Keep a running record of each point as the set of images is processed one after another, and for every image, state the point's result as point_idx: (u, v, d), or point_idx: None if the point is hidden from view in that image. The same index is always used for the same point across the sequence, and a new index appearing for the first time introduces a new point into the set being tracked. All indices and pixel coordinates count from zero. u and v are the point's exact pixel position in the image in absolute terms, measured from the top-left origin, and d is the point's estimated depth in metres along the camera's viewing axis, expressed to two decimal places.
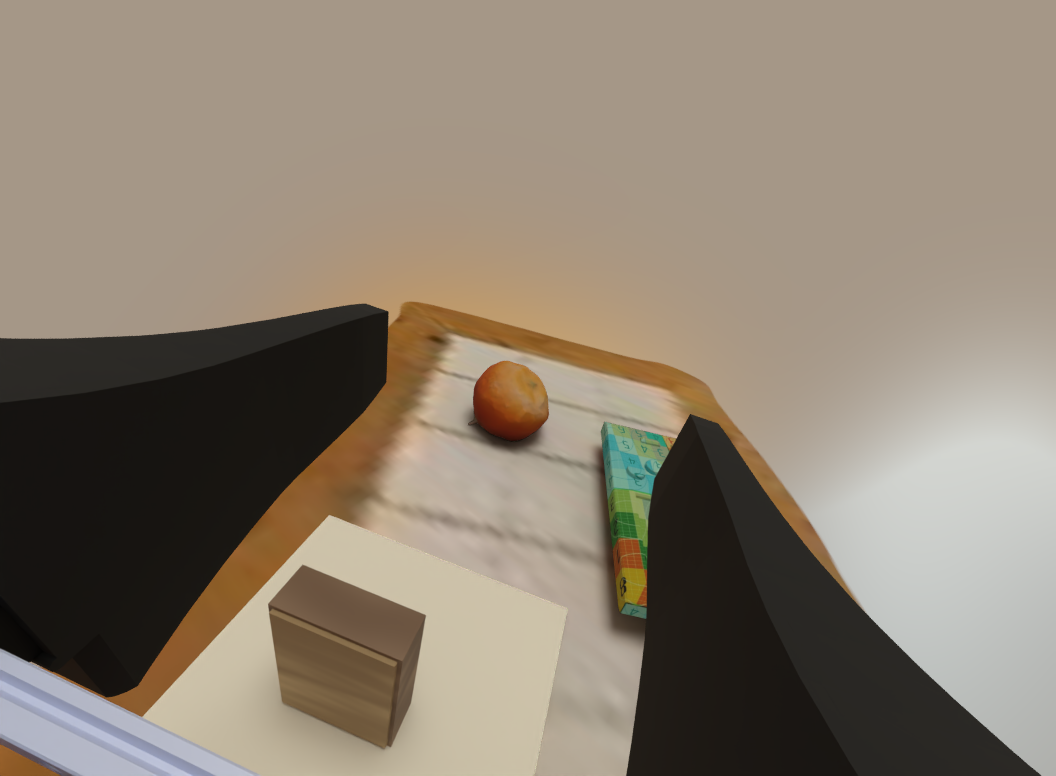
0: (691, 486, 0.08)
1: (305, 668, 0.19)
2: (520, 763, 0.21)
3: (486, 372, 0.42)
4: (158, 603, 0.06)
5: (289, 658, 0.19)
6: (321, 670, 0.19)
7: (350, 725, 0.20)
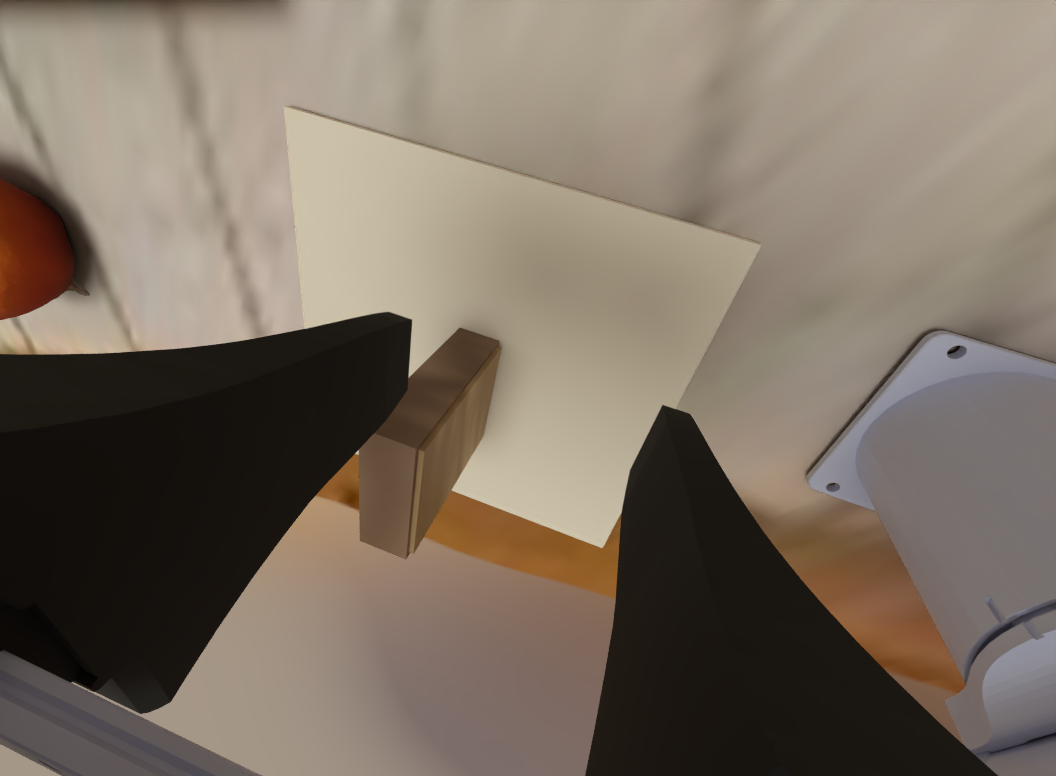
0: (658, 475, 0.08)
1: (452, 472, 0.19)
2: (491, 189, 0.17)
3: None
4: (192, 618, 0.06)
5: (447, 488, 0.19)
6: (449, 466, 0.18)
7: (489, 388, 0.20)
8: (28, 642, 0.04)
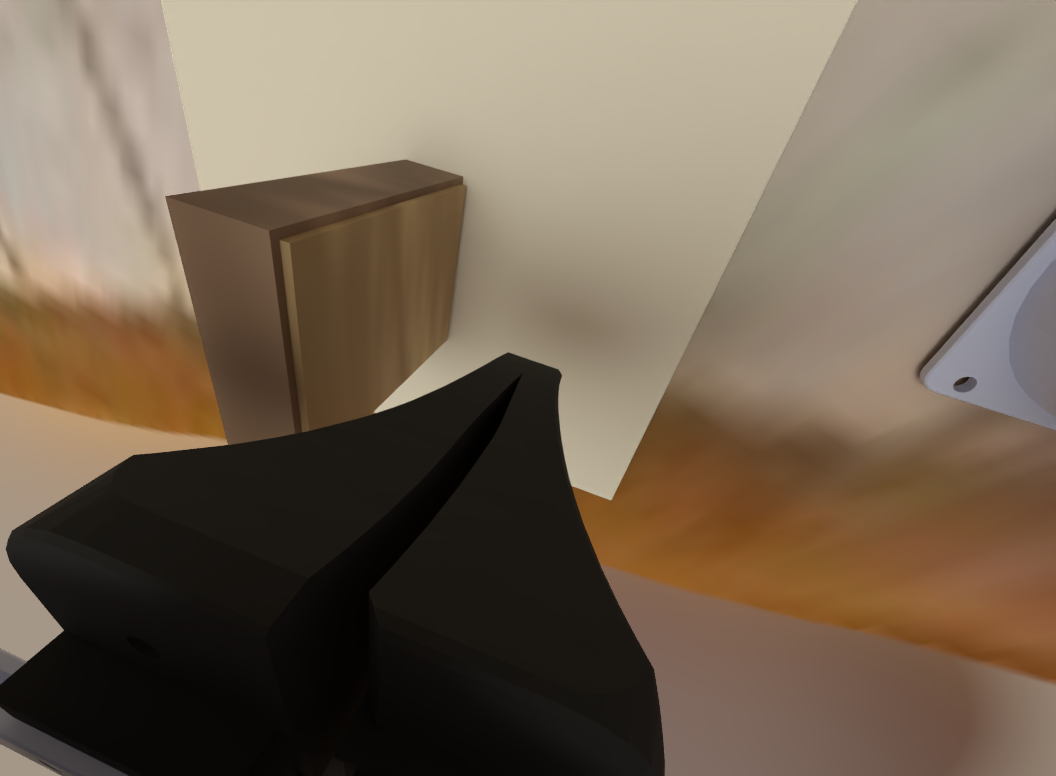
0: None
1: (386, 358, 0.12)
2: None
3: None
4: None
5: (381, 385, 0.12)
6: (378, 340, 0.11)
7: (449, 249, 0.14)
8: (278, 762, 0.04)
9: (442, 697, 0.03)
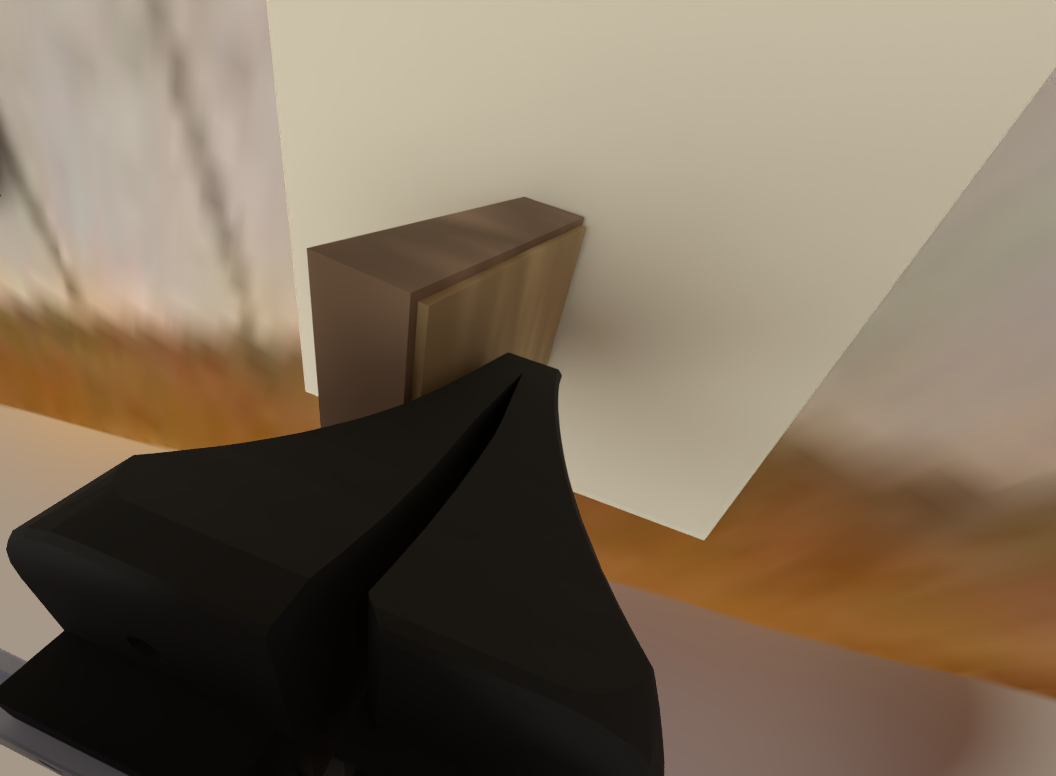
0: None
1: None
2: None
3: None
4: None
5: None
6: None
7: (560, 292, 0.13)
8: (278, 762, 0.04)
9: (442, 696, 0.03)
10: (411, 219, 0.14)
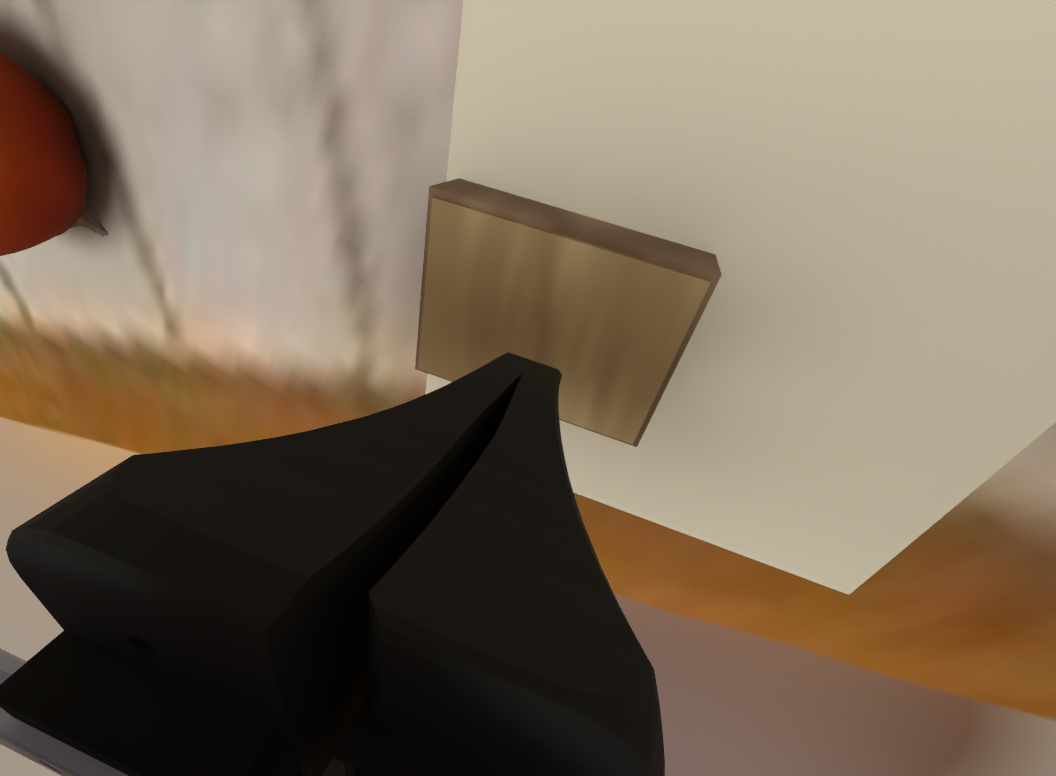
0: None
1: None
2: None
3: None
4: None
5: None
6: (506, 335, 0.13)
7: (652, 336, 0.12)
8: (278, 762, 0.04)
9: (442, 697, 0.03)
10: None
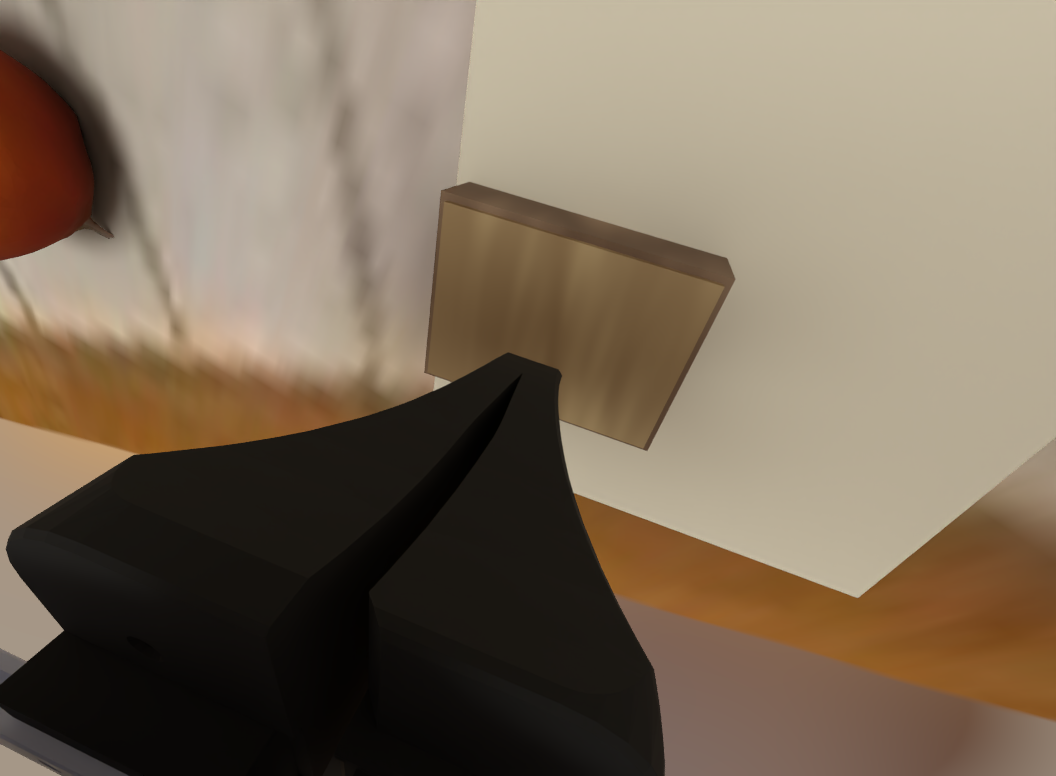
0: None
1: None
2: None
3: None
4: None
5: None
6: (516, 339, 0.13)
7: (665, 340, 0.12)
8: (278, 762, 0.04)
9: (442, 697, 0.03)
10: None
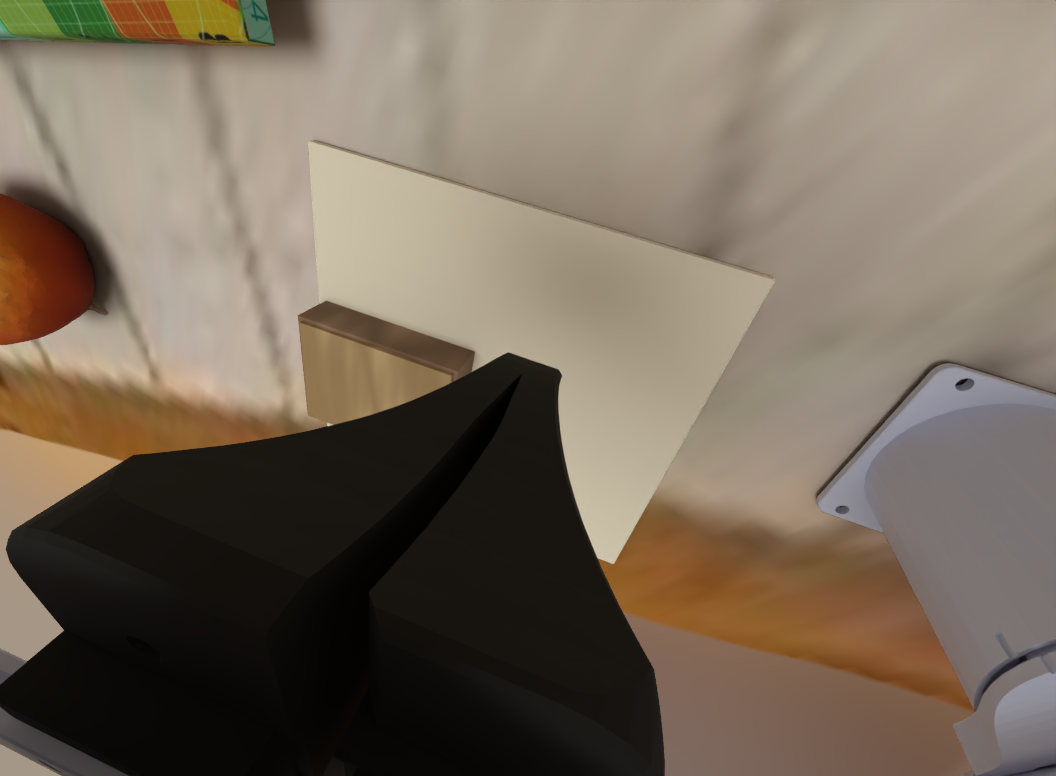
0: None
1: (362, 413, 0.22)
2: (510, 223, 0.17)
3: None
4: None
5: None
6: (354, 398, 0.21)
7: None
8: (277, 762, 0.04)
9: (442, 697, 0.03)
10: None
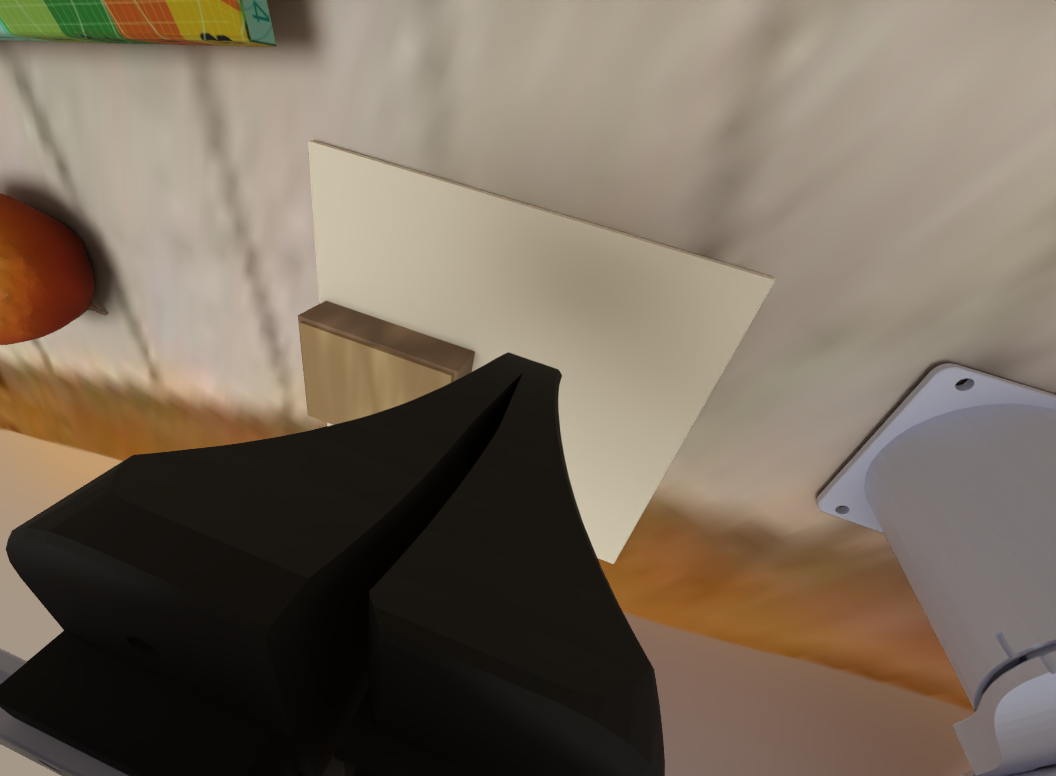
0: None
1: (362, 413, 0.22)
2: (510, 223, 0.17)
3: None
4: None
5: None
6: (354, 398, 0.21)
7: None
8: (277, 762, 0.04)
9: (442, 697, 0.03)
10: None
